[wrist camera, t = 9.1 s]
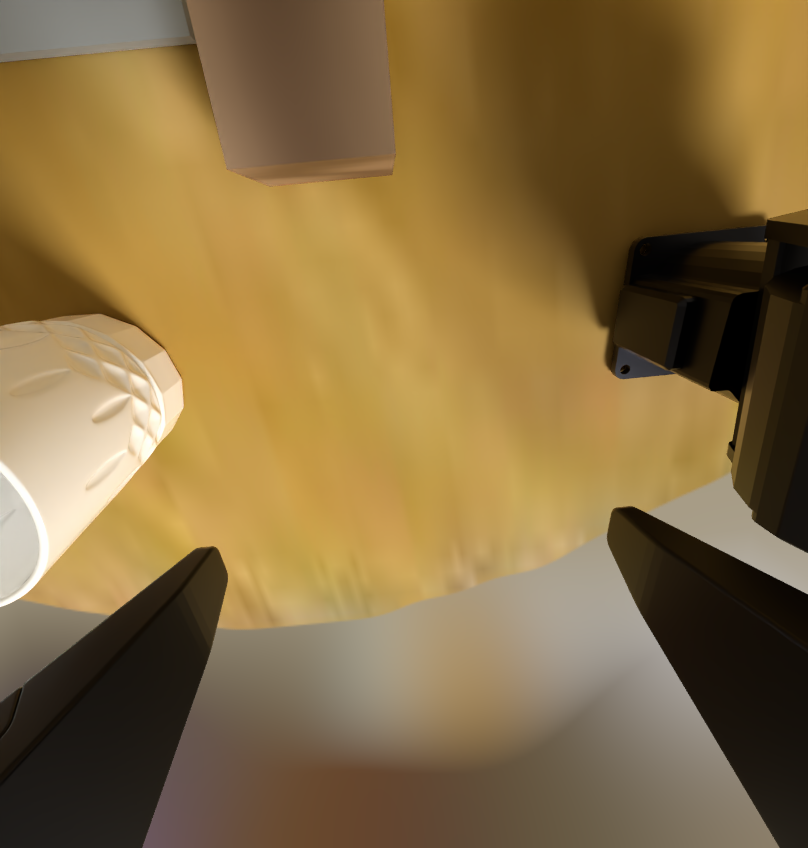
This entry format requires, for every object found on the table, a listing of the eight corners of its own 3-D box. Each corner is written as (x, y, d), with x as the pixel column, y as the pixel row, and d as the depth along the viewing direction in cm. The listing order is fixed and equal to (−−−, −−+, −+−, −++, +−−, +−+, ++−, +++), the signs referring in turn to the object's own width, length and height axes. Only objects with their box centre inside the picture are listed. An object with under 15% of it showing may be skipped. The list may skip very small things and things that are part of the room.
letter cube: (377, 1, 14) (374, -111, 9) (392, 175, 16) (395, 153, 12) (235, 14, 14) (164, -91, 9) (270, 186, 16) (227, 169, 12)
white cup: (50, 261, 17) (-332, 296, 8) (224, 362, 19) (83, 479, 10) (6, 401, 19) (-319, 548, 10) (163, 475, 22) (9, 647, 13)
